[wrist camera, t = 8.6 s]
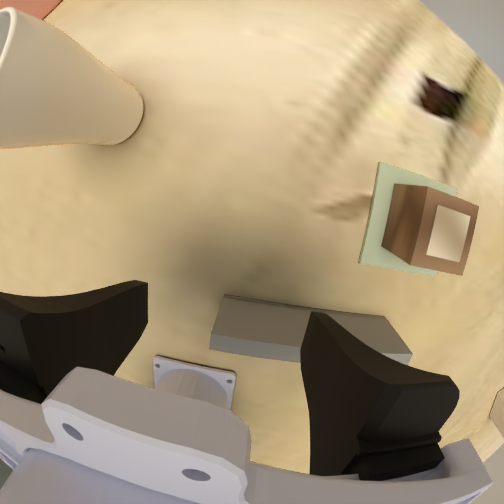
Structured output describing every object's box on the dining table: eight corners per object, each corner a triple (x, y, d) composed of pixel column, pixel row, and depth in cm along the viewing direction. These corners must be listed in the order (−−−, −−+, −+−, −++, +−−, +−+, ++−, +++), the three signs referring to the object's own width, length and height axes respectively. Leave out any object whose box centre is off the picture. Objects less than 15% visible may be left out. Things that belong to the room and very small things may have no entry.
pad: (434, 275, 21) (436, 277, 20) (358, 262, 21) (359, 263, 20) (454, 188, 19) (456, 188, 18) (378, 162, 19) (380, 161, 18)
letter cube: (430, 256, 20) (465, 276, 15) (380, 246, 20) (411, 266, 15) (443, 199, 19) (482, 207, 14) (394, 183, 19) (429, 186, 14)
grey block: (370, 353, 23) (391, 395, 17) (219, 335, 23) (206, 380, 17) (384, 316, 22) (412, 353, 16) (224, 294, 22) (211, 333, 16)
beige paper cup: (154, 69, 17) (34, -23, 3) (155, 146, 19) (-6, 117, 5) (88, 90, 18) (-43, 50, 3) (87, 161, 20) (-64, 168, 5)
